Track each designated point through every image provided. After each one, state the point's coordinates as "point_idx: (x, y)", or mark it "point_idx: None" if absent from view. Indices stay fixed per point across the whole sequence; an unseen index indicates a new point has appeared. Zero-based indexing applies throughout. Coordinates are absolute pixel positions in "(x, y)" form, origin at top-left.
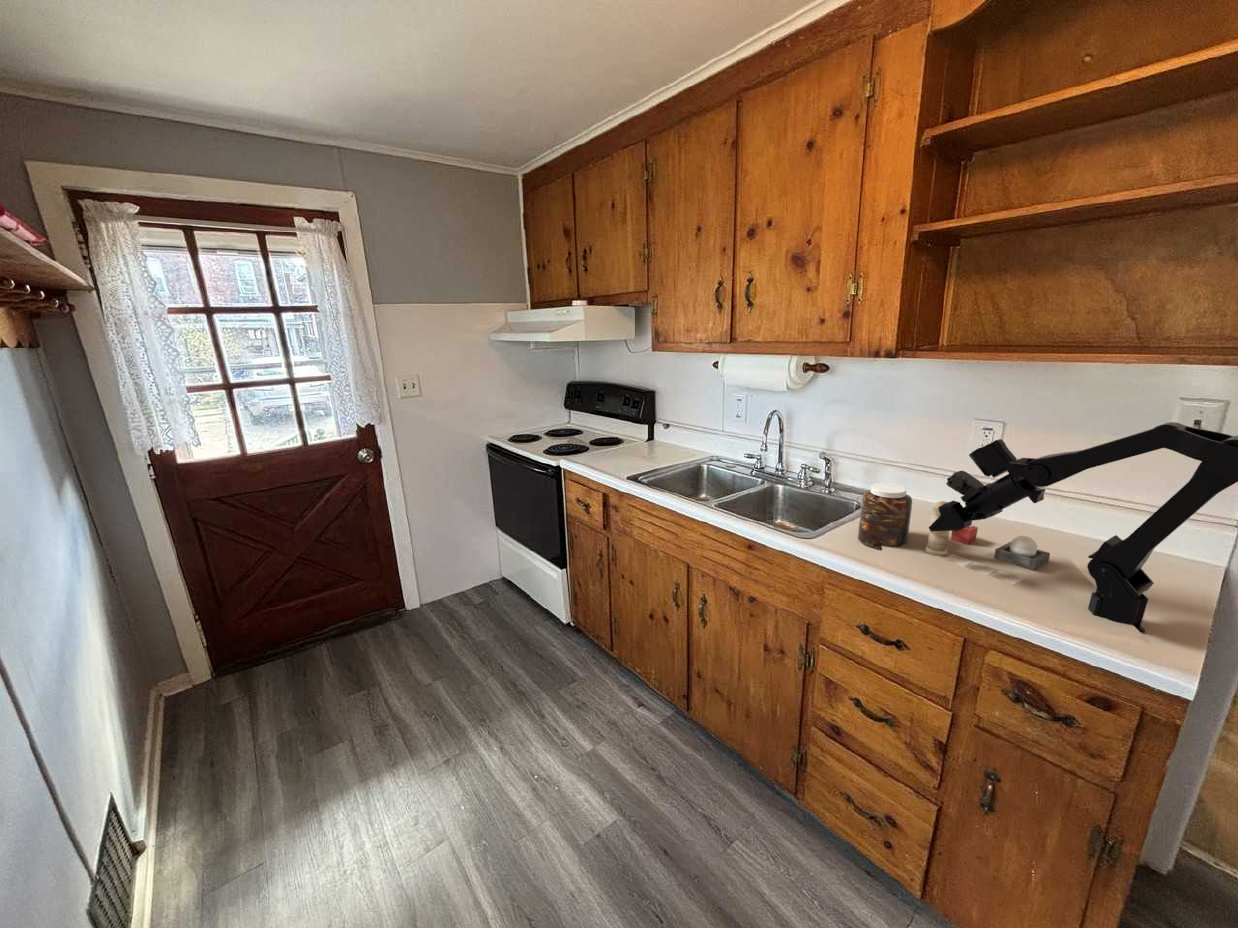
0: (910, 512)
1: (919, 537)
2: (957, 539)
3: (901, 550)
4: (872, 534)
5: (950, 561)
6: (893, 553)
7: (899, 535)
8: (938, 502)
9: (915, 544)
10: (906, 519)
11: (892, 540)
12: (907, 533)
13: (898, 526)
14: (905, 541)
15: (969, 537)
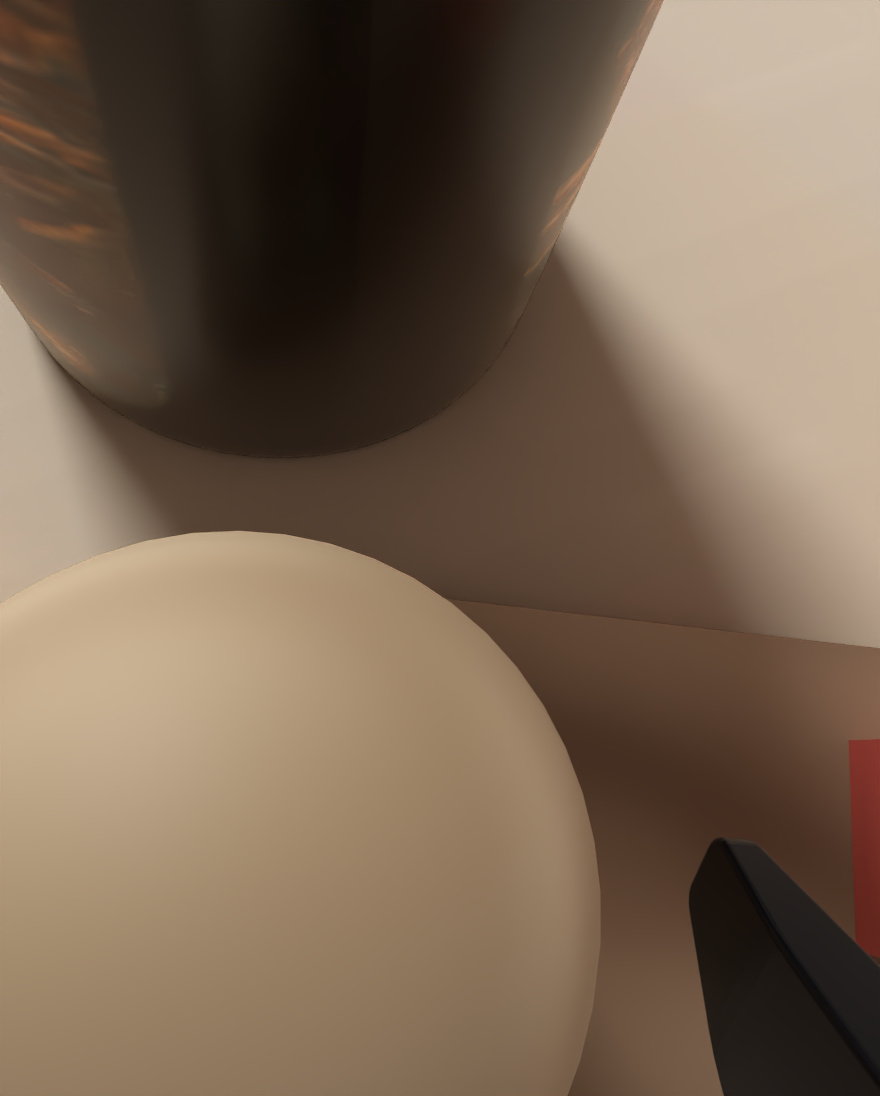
0: (317, 156)
1: (711, 452)
2: (873, 821)
3: (195, 462)
4: None
5: None
6: (36, 437)
7: (104, 342)
8: (72, 685)
9: (488, 499)
10: (157, 225)
11: (43, 326)
12: (310, 383)
13: (15, 235)
14: (277, 428)
15: None
